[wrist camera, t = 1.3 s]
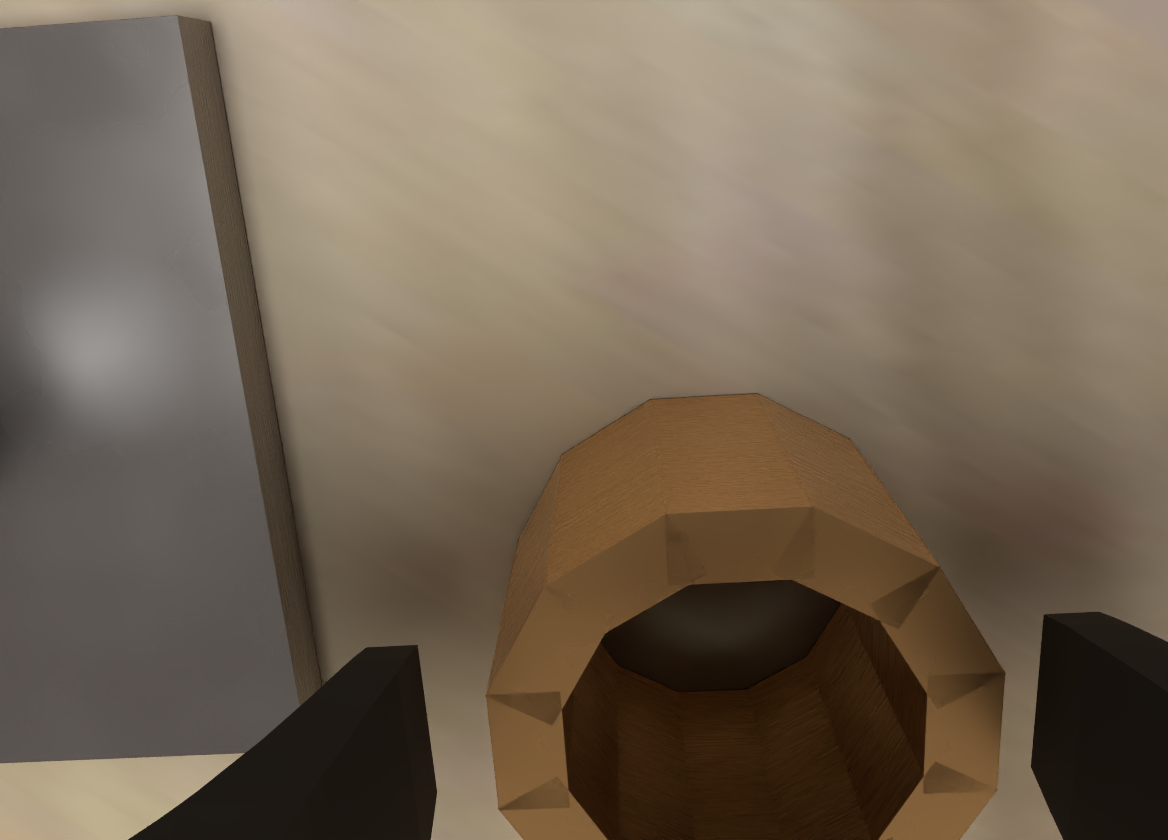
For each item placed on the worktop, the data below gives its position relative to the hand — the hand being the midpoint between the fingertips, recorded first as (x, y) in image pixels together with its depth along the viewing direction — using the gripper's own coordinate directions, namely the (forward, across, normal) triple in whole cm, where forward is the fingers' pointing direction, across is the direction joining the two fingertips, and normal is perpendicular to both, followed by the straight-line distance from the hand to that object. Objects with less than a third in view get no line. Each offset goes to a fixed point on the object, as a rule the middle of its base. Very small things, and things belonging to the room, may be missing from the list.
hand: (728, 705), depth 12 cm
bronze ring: (+3, 0, 0) cm, 3 cm away
